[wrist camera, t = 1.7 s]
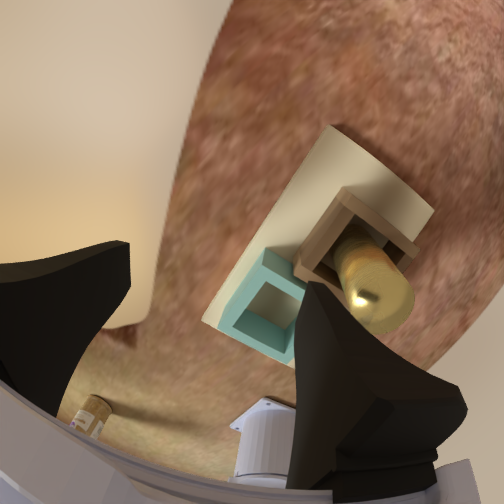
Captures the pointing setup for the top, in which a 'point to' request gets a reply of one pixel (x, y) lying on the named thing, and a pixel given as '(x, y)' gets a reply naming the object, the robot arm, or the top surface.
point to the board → (310, 211)
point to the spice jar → (91, 416)
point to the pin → (371, 281)
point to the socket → (253, 326)
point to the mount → (328, 232)
